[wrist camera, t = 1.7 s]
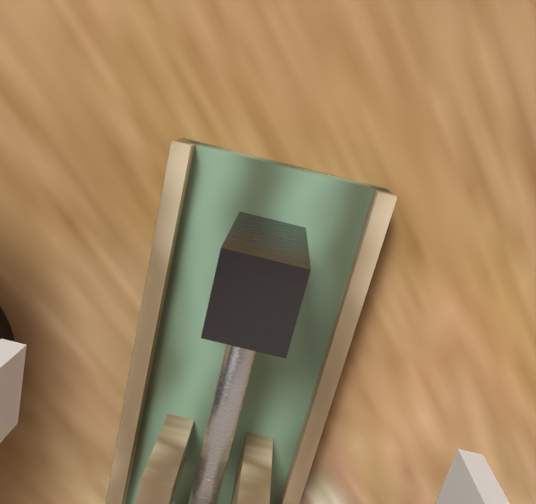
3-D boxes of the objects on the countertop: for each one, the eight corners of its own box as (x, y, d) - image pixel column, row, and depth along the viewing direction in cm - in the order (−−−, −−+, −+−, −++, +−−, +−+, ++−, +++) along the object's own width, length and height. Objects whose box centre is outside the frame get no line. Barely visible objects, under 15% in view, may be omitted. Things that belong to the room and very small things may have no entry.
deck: (90, 631, 46) (43, 753, 37) (183, 138, 33) (144, 148, 24) (238, 664, 46) (226, 793, 37) (386, 189, 33) (420, 216, 25)
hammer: (235, 203, 31) (209, 245, 21) (312, 222, 31) (322, 272, 21) (161, 531, 38) (117, 672, 29) (224, 546, 38) (201, 691, 29)
